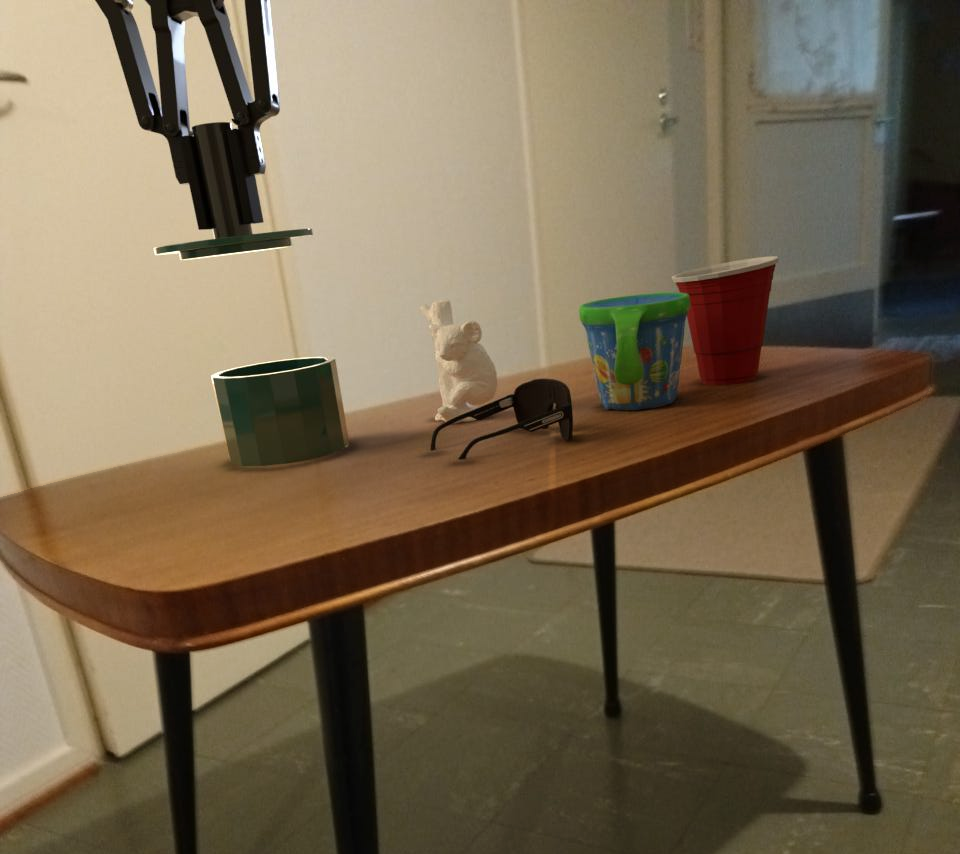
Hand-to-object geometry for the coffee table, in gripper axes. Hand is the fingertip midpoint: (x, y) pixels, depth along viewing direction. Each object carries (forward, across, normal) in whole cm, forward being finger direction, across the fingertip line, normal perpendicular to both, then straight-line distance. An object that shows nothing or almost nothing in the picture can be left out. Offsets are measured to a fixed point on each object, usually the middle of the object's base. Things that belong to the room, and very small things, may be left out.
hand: (231, 225), depth 77 cm
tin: (+21, +2, -10) cm, 23 cm away
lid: (+1, 0, 0) cm, 1 cm away
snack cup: (+21, -32, -19) cm, 42 cm away
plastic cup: (+21, -42, -28) cm, 54 cm away
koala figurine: (+21, -14, -21) cm, 32 cm away
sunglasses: (+21, -19, -5) cm, 29 cm away
